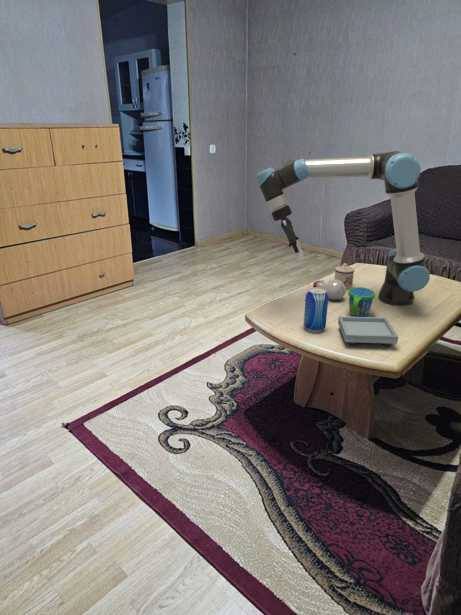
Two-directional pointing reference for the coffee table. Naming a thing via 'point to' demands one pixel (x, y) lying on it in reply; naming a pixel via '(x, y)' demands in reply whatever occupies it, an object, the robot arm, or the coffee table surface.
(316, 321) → the beer can
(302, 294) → the coffee table surface
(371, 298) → the snack cup
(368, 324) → the grey rimmed tray
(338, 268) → the teacup with lid
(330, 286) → the potion bottle
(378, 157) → the robot arm
